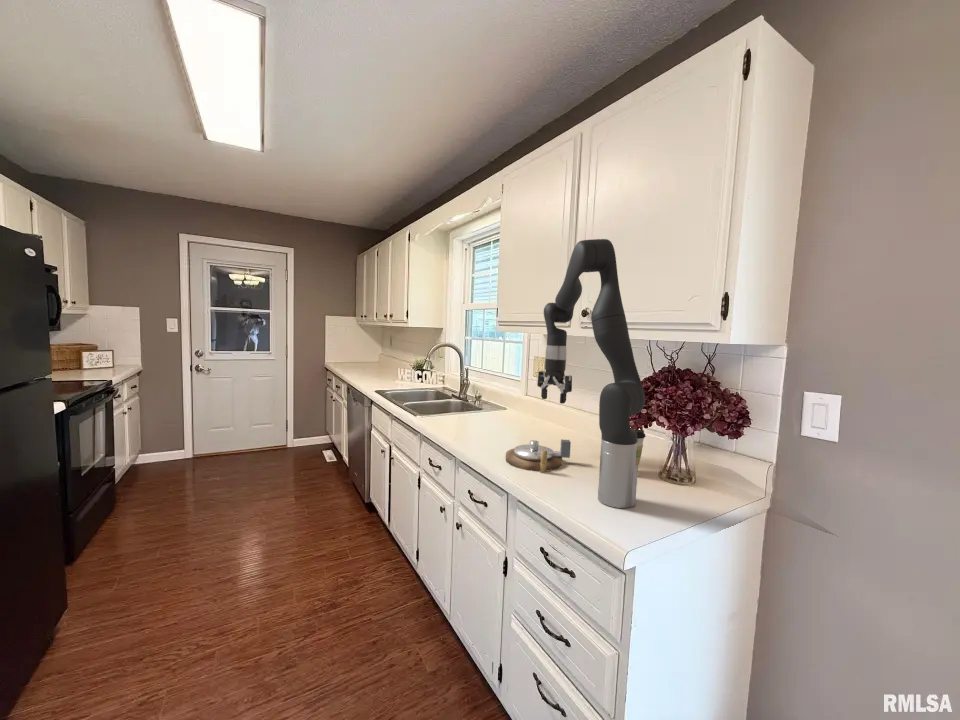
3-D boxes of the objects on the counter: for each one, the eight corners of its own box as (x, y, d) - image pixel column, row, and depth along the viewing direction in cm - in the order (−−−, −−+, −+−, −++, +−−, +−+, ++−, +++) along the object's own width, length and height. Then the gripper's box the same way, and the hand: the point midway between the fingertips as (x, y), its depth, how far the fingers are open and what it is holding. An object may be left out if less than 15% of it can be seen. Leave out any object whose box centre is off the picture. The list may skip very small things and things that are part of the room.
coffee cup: (615, 476, 128) (618, 431, 127) (608, 466, 138) (611, 424, 136) (646, 479, 127) (649, 433, 126) (638, 468, 136) (640, 426, 135)
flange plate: (514, 459, 134) (514, 443, 134) (514, 447, 148) (514, 432, 147) (572, 463, 132) (573, 446, 132) (566, 450, 146) (567, 435, 146)
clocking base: (558, 453, 150) (559, 435, 149) (566, 474, 128) (567, 453, 128) (506, 450, 151) (506, 432, 151) (504, 470, 130) (505, 449, 129)
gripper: (534, 356, 147) (532, 398, 149) (565, 360, 136) (562, 405, 138) (547, 355, 152) (545, 396, 154) (578, 359, 141) (575, 403, 143)
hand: (553, 401), depth 146 cm, fingers open, 8 cm apart
